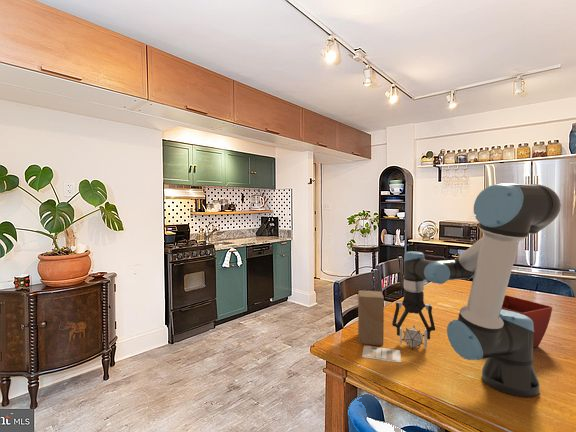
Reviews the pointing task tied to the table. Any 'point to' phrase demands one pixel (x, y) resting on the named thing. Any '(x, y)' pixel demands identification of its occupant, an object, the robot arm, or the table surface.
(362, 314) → the wooden block
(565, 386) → the table surface
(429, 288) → the table surface
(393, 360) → the page
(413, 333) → the game die
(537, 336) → the plant pot
